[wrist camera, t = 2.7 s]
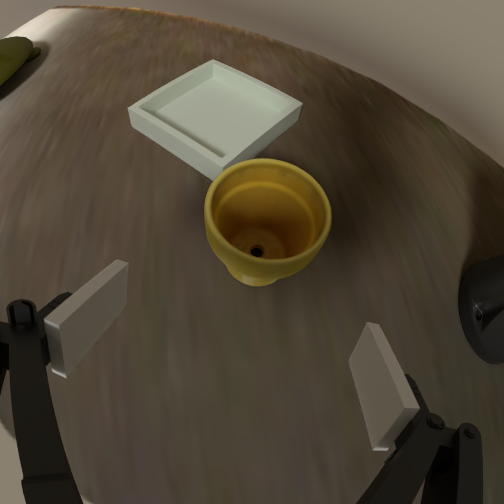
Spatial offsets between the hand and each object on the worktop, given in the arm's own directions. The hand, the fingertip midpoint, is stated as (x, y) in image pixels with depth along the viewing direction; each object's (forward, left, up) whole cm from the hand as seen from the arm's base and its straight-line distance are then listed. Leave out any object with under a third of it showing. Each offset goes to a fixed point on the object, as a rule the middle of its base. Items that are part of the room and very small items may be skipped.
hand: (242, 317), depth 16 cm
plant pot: (+4, -9, -15) cm, 18 cm away
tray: (+21, -22, -14) cm, 34 cm away
